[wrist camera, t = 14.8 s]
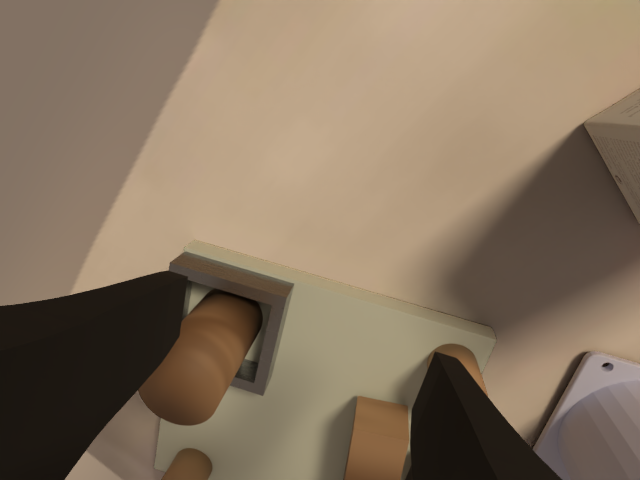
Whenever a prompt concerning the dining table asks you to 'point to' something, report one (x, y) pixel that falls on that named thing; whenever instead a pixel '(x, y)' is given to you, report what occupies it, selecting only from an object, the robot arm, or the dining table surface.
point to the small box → (620, 145)
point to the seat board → (316, 379)
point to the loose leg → (203, 358)
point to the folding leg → (377, 441)
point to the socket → (249, 286)
